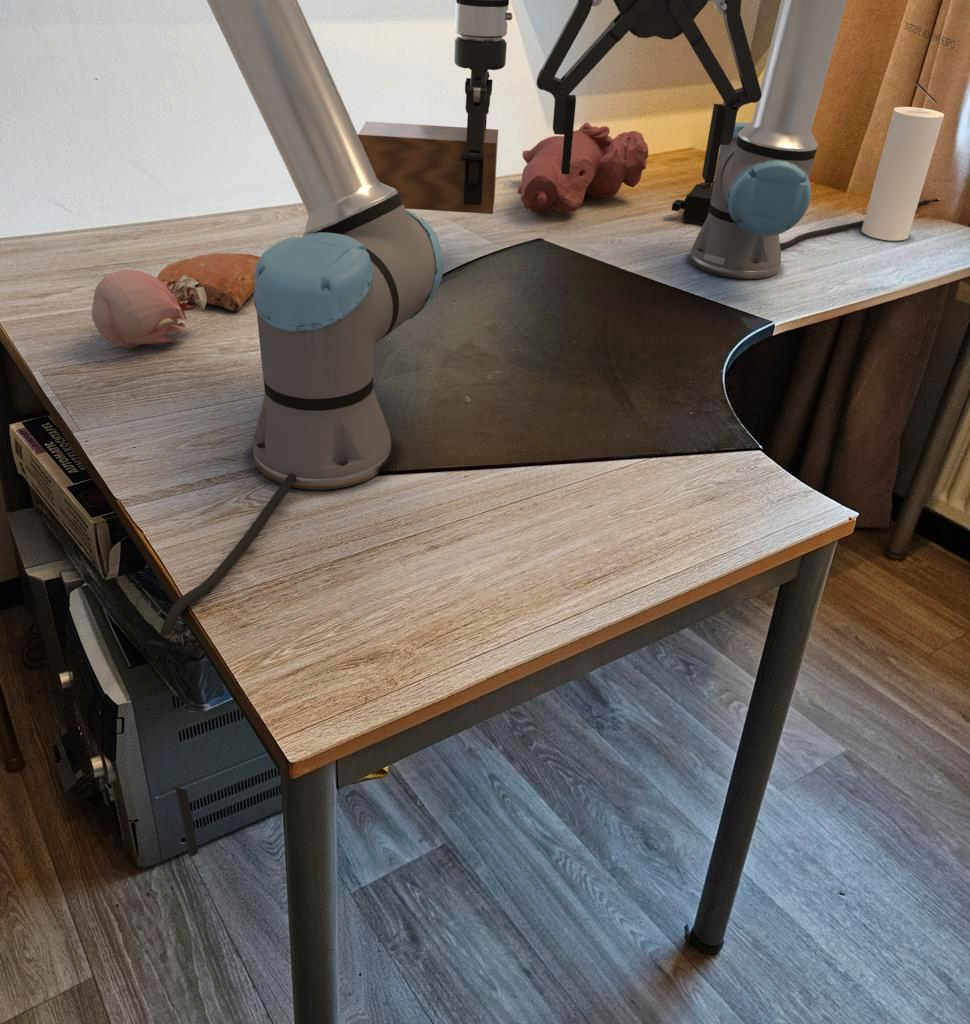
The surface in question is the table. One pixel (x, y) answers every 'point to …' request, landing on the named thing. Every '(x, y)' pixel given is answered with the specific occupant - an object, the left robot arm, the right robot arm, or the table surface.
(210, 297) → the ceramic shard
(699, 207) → the toy
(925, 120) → the white tall cylinder
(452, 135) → the box
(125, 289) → the shallot
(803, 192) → the right robot arm
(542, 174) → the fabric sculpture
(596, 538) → the table surface
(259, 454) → the left robot arm
